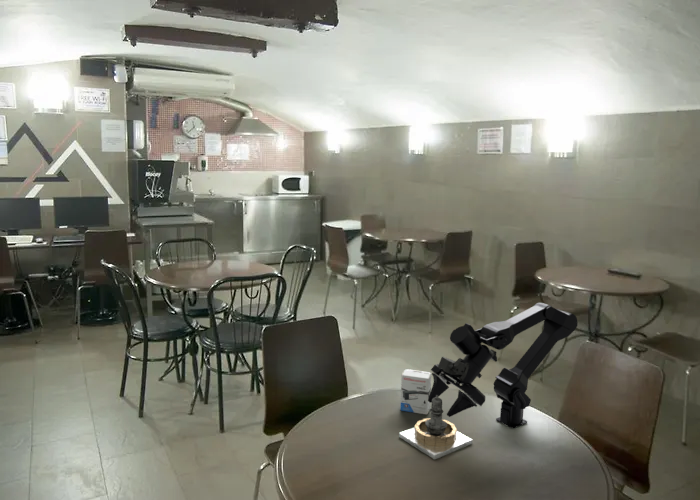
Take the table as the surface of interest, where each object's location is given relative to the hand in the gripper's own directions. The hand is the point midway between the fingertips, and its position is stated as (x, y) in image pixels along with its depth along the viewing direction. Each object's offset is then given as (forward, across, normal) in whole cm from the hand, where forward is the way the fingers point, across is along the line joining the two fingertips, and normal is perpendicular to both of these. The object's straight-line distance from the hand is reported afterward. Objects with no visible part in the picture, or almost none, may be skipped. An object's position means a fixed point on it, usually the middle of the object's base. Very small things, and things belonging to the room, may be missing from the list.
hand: (438, 408), depth 149 cm
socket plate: (+7, 0, +6) cm, 9 cm away
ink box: (+4, -18, +10) cm, 21 cm away
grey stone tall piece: (+6, 0, +5) cm, 8 cm away
